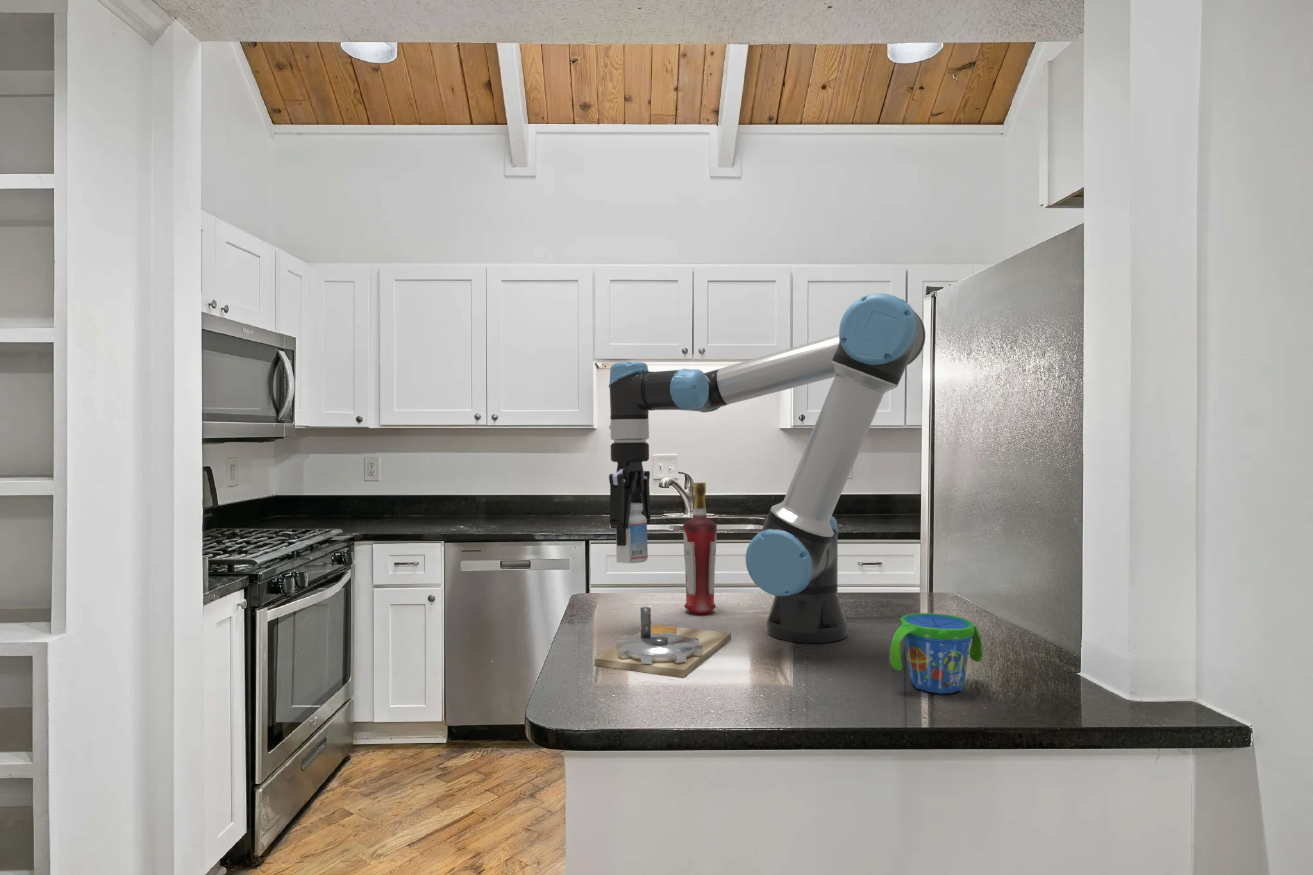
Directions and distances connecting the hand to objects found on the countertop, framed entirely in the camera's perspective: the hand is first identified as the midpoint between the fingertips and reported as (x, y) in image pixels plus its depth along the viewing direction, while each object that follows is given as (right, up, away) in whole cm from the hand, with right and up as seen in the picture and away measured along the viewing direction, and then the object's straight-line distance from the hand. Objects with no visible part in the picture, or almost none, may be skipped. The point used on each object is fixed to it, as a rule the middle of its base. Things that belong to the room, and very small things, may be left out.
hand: (631, 559), depth 147 cm
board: (+7, -14, -14) cm, 21 cm away
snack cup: (+48, -14, -33) cm, 60 cm away
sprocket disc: (+5, -13, -18) cm, 23 cm away
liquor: (+14, -14, +16) cm, 26 cm away
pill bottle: (0, -1, 0) cm, 1 cm away
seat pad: (+5, -13, -5) cm, 15 cm away
